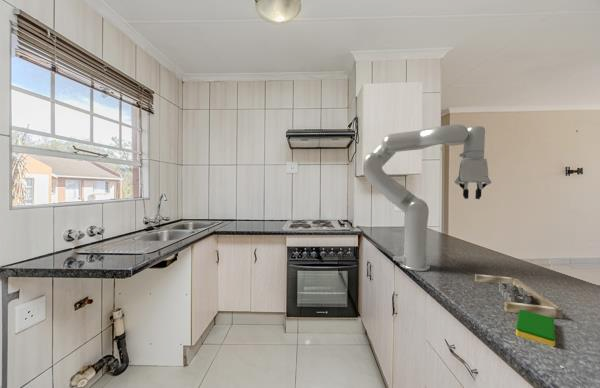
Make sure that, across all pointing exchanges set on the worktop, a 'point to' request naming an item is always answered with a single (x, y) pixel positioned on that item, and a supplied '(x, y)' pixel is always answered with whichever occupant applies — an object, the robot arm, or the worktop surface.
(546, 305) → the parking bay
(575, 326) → the worktop surface
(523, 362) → the worktop surface
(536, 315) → the dish sponge
